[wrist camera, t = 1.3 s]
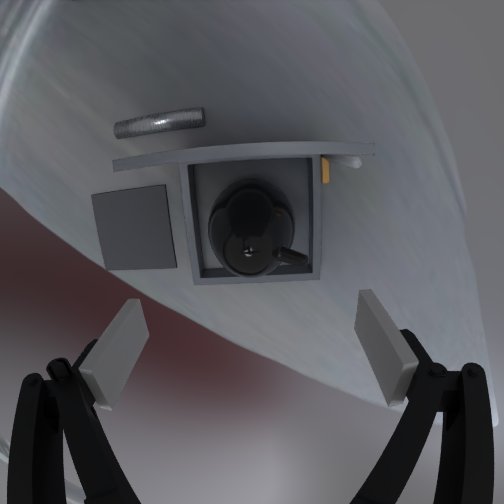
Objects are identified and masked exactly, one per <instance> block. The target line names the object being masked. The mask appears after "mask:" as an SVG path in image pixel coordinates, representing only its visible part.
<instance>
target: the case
mask: <svg viewBox="0 0 504 504" xmlns="http://www.w3.org/2000/svg"><path fill="white" fill-rule="evenodd" d="M340 154H349V155H375V152H374V143H361V142H329V141H296V142H264V143H245V144H231V145H219V146H208V147H198V148H189V149H181V150H173V151H166V152H159V153H152V154H146V155H139V156H134V157H128V158H122V159H117V160H113V170H114V172H116V171H122V170H128V169H135V168H141V167H148V166H155V165H162V164H170V163H178V162H179V169H180V179H181V189H182V198H183V207H184V215H185V224H186V232H187V239H188V247H189V254H190V261H191V268H192V274H193V281H194V285H213V284H240V283H263V282H283V281H302V280H318V279H320V259H321V182H322V183H329V162H333V163H337V164H341V165H345V166H348V167H352V168H356V169H358V168H360V167H361V165H362V161H361V159H360V158H359V157H354V156H347V155H340ZM273 158H308V166H309V264H307V265H306V266H305V267H302V266H298V265H284V266H278V267H277V268H275V269H274V270H273V271H271V272H270V273H268V274H266V275H264V276H261V277H257V278H244V277H240V276H237V275H235V274H233V273H231V272H230V271H228V270H227V269H226V268H219V269H204V265H203V257H202V249H201V241H200V233H199V224H198V215H197V206H196V196H195V186H194V175H193V164H200V163H211V162H223V161H236V160H252V159H273Z"/></svg>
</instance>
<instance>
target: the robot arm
mask: <svg viewBox="0 0 504 504" xmlns="http://www.w3.org/2000/svg"><path fill="white" fill-rule="evenodd" d="M354 329H355V331H356V334H357V336H358V338H359V340H360V342H361V345H362V347H363V349H364V351H365V353H366V356H367V358H368V360H369V362H370V365H371V367H372V369H373V372H374V374H375V376H376V378H377V381H378V383H379V385H380V388H381V390H382V393H383V395H384V397H385V400H386V402H387V405H388V407H390V406H394V405H399V404H403V401H404V399H405V397H406V396H407V398H408V400H409V402H408V404H407V407H406V409H405V411H404V413H403V415H402V417H401V419H400V421H399V423H398V425H397V427H396V429H395V431H394V433H393V435H392V437H391V439H390V441H389V443H388V444H387V446H386V448H385V450H384V451H383V453H382V455H381V457H380V458H379V460H378V462H377V464H376V465H375V467H374V468H373V470H372V471H371V473H370V475H369V476H368V478H367V479H366V481H365V482H364V484H363V485H362V487H361V488H360V490H359V491H358V493H357V494H356V495H355V497H354V498H353V500H352V501H351V502H350V504H395V503H396V501H397V500H398V498H399V496H400V494H401V493H402V491H403V489H404V487H405V485H406V483H407V481H408V479H409V477H410V475H411V473H412V471H413V469H414V467H415V465H416V463H417V461H418V458H419V456H420V454H421V452H422V449H423V447H424V445H425V442H426V439H427V437H428V435H429V432H430V429H431V427H432V424H433V421H434V419H435V416H436V413H437V412H443V430H442V444H441V455H440V465H439V472H438V480H437V486H436V492H435V497H434V502H433V504H492V503H493V488H494V441H493V426H492V416H491V407H490V400H489V393H488V386H487V381H486V375H485V371H484V369H483V368H482V367H481V366H480V365H478V364H476V363H467V364H465V365H464V366H463V367H462V369H461V371H447V369H446V368H445V367H444V366H443V365H442V364H439V363H435V362H433V361H432V360H431V358H430V357H429V355H428V354H427V352H426V351H425V349H424V348H423V346H422V345H421V343H420V342H419V341H418V339H417V338H416V336H415V335H414V334H413V333H412V332H411V331H409V330H408V329H403V330H399V329H398V328H397V326H396V325H395V323H394V322H393V320H392V319H391V317H390V316H389V314H388V313H387V311H386V310H385V309H384V307H383V306H382V304H381V303H380V301H379V300H378V298H377V297H376V296H375V294H374V293H373V291H372V290H371V289H369V290H359V297H358V305H357V313H356V320H355V327H354ZM148 337H149V333H148V329H147V326H146V322H145V319H144V315H143V311H142V307H141V304H140V300H139V299H128V300H127V302H126V303H125V304H124V306H123V307H122V308H121V310H120V311H119V312H118V314H117V315H116V316H115V318H114V319H113V320H112V322H111V323H110V324H109V326H108V327H107V329H106V330H105V331H104V333H103V334H102V336H101V337H100V338H99V340H98V339H94V340H93V341H92V342H90V343H89V344H88V345H87V346H86V348H85V349H84V351H83V352H82V353H81V356H79V357H78V359H77V360H76V362H75V363H74V365H73V366H72V367H71V365H70V363H69V361H68V360H67V359H65V358H57V359H54V360H52V361H51V362H50V363H49V364H48V365H47V368H46V370H47V372H48V374H49V376H50V378H51V379H52V380H43V378H42V376H41V375H40V374H38V373H32V374H29V375H27V376H26V377H25V378H24V380H23V382H22V386H21V390H20V394H19V398H18V403H17V408H16V413H15V419H14V424H13V430H12V437H11V445H10V453H9V464H8V481H7V504H67V502H66V493H65V482H64V466H63V429H64V433H65V437H66V440H67V444H68V447H69V450H70V454H71V457H72V460H73V463H74V466H75V469H76V471H77V474H78V477H79V479H80V482H81V485H82V487H83V490H84V492H85V495H86V499H85V500H84V504H141V503H140V501H139V499H138V498H137V496H136V494H135V493H134V491H133V489H132V487H131V486H130V484H129V482H128V480H127V478H126V477H125V475H124V473H123V471H122V469H121V467H120V465H119V463H118V461H117V459H116V457H115V455H114V453H113V451H112V449H111V446H110V444H109V442H108V440H107V437H106V435H105V433H104V431H103V428H102V426H101V423H100V421H99V419H98V416H97V413H96V411H95V409H94V407H93V404H94V402H95V401H96V402H97V404H98V406H99V407H100V408H102V409H107V410H113V408H114V406H115V404H116V402H117V399H118V397H119V395H120V393H121V391H122V389H123V387H124V385H125V383H126V381H127V379H128V377H129V375H130V373H131V371H132V369H133V367H134V365H135V362H136V360H137V359H138V357H139V355H140V353H141V351H142V349H143V347H144V345H145V343H146V341H147V339H148Z"/></svg>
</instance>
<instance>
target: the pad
mask: <svg viewBox="0 0 504 504" xmlns="http://www.w3.org/2000/svg"><path fill="white" fill-rule="evenodd" d="M91 197H92V204H93V210H94V215H95V221H96V226H97V231H98V236H99V241H100V246H101V250H102V255H103V259H104V263H105V267H106V270H137V269H165V268H177V264H176V258H175V251H174V245H173V238H172V231H171V224H170V217H169V209H168V201H167V193H166V185H159V186H151V187H143V188H135V189H128V190H121V191H114V192H107V193H101V194H95V195H91Z"/></svg>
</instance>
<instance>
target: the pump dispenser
mask: <svg viewBox="0 0 504 504" xmlns="http://www.w3.org/2000/svg"><path fill="white" fill-rule="evenodd" d="M294 235H295V217H294V212H293V209H292V206H291V204H290V202H289V201H288V199H287V198H286V196H285V195H284V194H283V193H282V192H281V191H280V190H279V189H278V188H276V187H275V186H273V185H271V184H269V183H266V182H263V181H258V180H246V181H241V182H238V183H235V184H233V185H231V186H229V187H228V188H226V189H225V190H224V191H223V192H222V193H221V194H220V195H219V196H218V197H217V199H216V200H215V202H214V204H213V206H212V208H211V211H210V215H209V221H208V236H209V241H210V244H211V247H212V250H213V252H214V254H215V256H216V257H217V259H218V260H219V262H220V263H221V264H222V265H223V266H224V267H225V268H226V269H227V270H228V271H230V272H231V273H233V274H235V275H237V276H240V277H244V278H257V277H261V276H264V275H266V274H268V273H270V272H271V271H273V270H274V269H275V268H277V267H278V266H279V265H280V264H281V263H282V262H285V263H289V264H293V265H298V266H302V267H305V266H306V265H307V263H308V256H307V255H304V254H302V253H299V252H297V251H294V250H292V249H291V246H292V243H293V240H294Z"/></svg>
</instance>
